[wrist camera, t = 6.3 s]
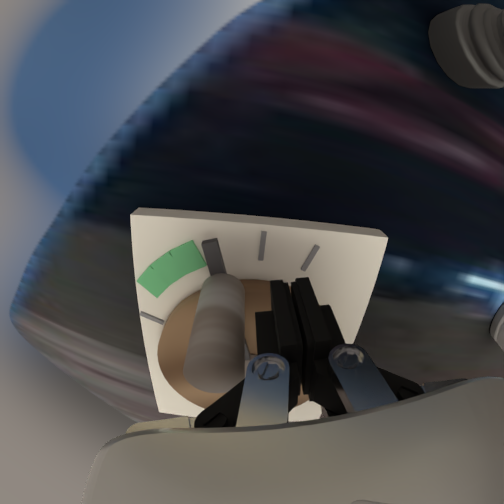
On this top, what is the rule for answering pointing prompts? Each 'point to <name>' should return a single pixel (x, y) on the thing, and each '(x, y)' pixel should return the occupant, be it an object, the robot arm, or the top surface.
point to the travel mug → (498, 327)
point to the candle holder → (470, 45)
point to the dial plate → (247, 272)
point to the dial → (213, 333)
